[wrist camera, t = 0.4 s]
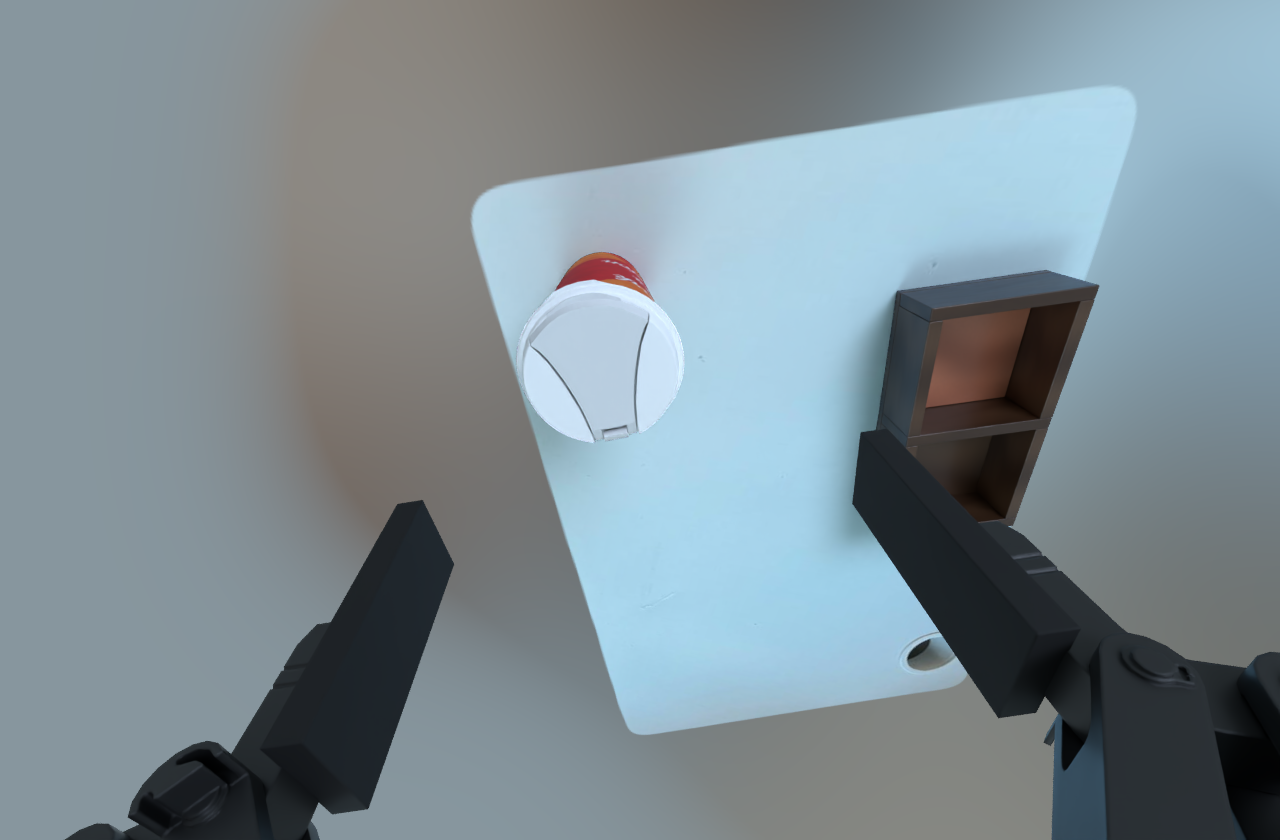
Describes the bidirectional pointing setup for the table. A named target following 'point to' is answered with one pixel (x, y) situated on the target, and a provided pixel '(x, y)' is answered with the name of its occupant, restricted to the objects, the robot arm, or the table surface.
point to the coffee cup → (600, 353)
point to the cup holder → (982, 380)
